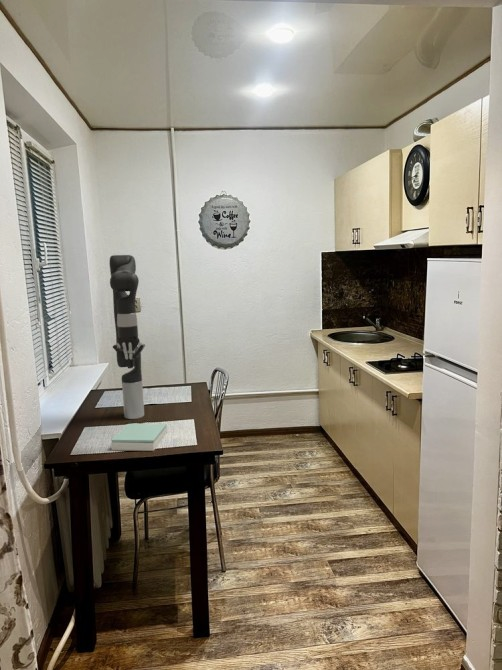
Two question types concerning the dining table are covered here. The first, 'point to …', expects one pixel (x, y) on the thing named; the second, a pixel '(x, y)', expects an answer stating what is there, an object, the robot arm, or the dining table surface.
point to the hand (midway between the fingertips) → (130, 368)
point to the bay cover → (139, 433)
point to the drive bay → (139, 444)
